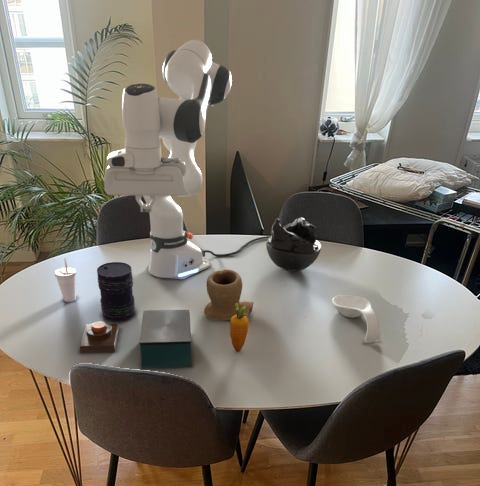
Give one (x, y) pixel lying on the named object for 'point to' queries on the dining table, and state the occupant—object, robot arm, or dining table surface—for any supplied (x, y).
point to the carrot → (238, 328)
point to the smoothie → (67, 282)
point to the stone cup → (225, 295)
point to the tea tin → (166, 355)
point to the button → (98, 327)
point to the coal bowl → (293, 245)
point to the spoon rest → (358, 313)
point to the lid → (165, 327)
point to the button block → (99, 339)
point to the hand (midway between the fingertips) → (146, 211)
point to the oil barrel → (116, 291)
